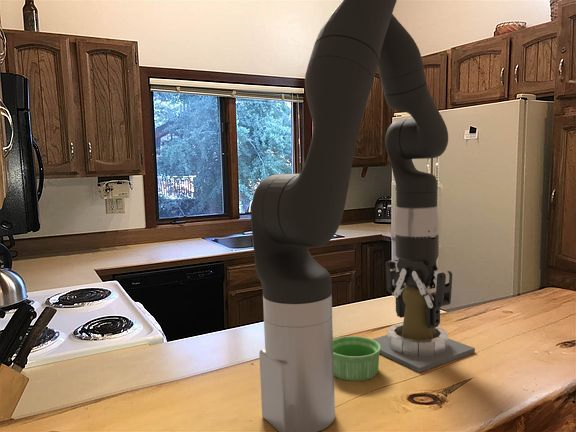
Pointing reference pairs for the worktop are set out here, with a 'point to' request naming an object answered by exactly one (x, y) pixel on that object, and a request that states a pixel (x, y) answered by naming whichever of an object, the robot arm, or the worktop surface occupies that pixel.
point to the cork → (415, 315)
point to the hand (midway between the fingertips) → (417, 321)
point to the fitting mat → (427, 362)
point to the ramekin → (355, 358)
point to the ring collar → (417, 342)
